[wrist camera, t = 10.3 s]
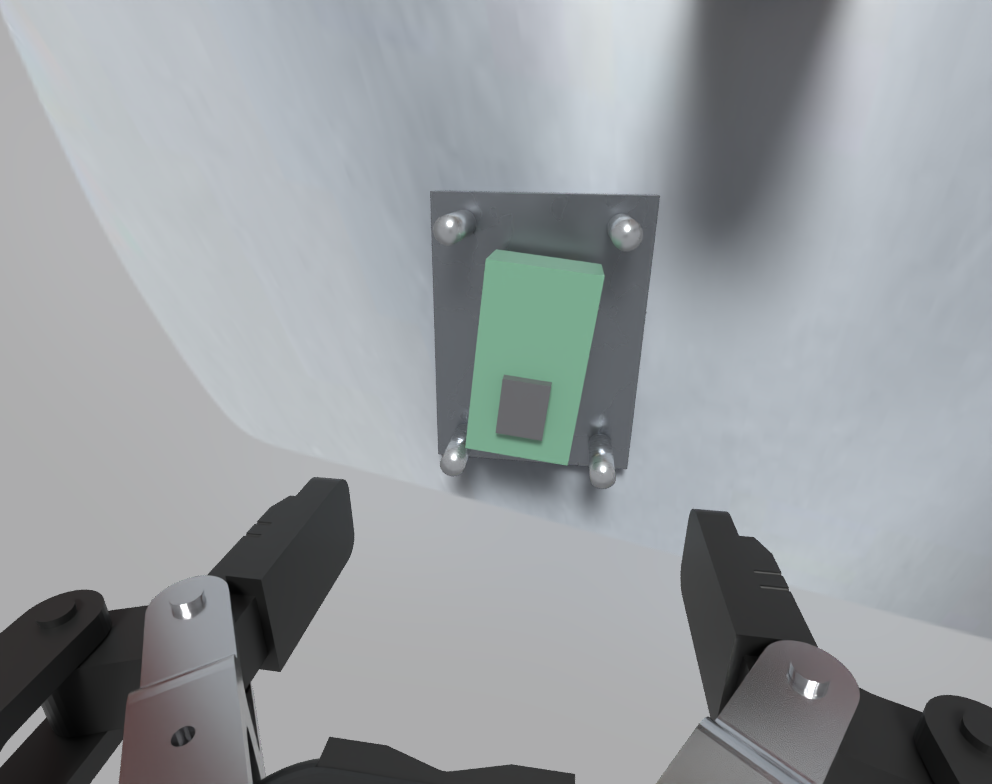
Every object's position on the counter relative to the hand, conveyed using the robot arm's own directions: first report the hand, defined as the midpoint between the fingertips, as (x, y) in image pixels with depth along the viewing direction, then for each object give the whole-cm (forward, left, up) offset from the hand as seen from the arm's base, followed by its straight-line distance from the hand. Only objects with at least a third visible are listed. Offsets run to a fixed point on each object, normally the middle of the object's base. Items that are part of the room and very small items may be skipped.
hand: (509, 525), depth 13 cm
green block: (+1, +1, -18) cm, 18 cm away
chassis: (+1, +1, -21) cm, 21 cm away
